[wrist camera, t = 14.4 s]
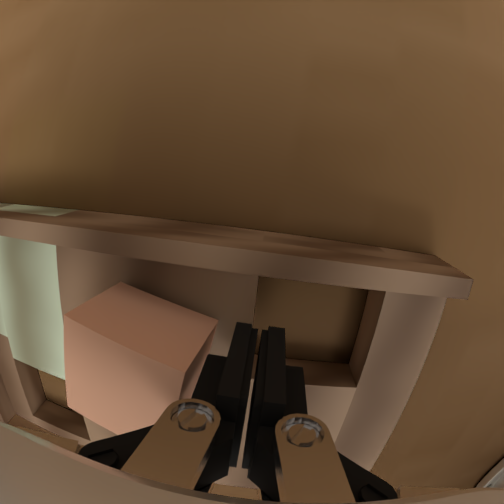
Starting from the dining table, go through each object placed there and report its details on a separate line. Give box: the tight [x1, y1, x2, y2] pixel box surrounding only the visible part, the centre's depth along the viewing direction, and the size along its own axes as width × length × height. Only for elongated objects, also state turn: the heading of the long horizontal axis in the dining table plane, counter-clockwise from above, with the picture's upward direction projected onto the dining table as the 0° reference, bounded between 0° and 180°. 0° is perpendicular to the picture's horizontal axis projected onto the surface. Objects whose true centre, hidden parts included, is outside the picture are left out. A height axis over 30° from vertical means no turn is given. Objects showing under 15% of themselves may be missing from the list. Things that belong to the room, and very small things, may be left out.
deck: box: [0, 203, 473, 489], centre depth 14 cm, size 25×15×4 cm, turn 84°
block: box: [64, 282, 219, 435], centre depth 11 cm, size 4×4×4 cm
